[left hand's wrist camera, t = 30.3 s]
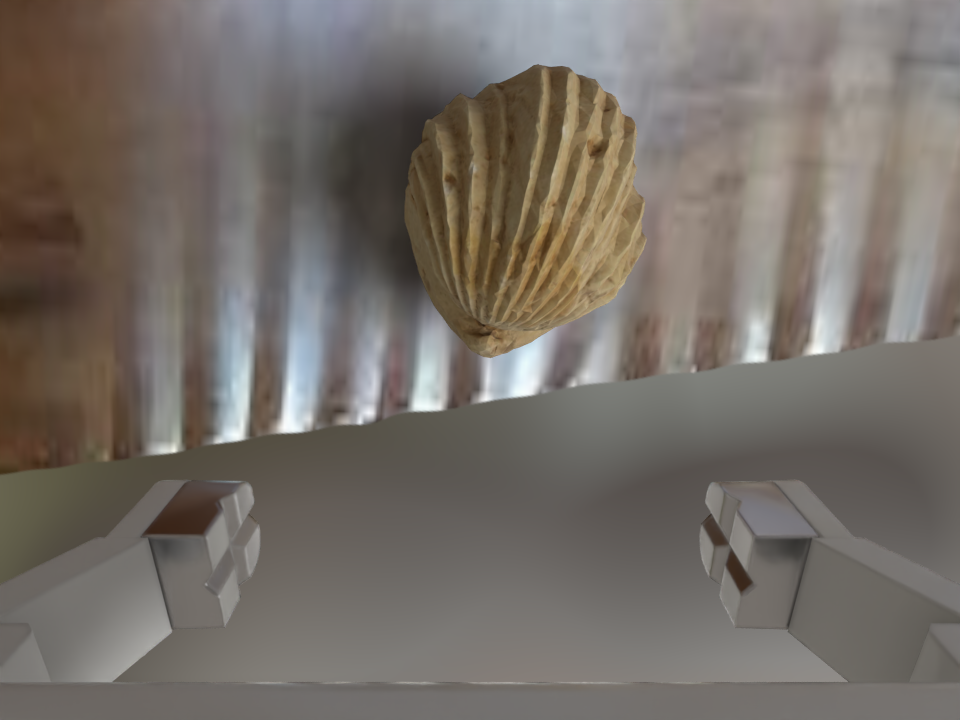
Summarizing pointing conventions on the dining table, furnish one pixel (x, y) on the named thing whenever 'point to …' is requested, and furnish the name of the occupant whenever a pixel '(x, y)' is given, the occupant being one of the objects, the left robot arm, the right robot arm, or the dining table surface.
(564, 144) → the fossil
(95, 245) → the dining table surface
